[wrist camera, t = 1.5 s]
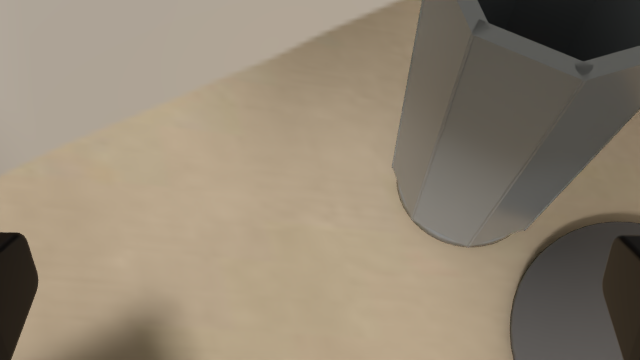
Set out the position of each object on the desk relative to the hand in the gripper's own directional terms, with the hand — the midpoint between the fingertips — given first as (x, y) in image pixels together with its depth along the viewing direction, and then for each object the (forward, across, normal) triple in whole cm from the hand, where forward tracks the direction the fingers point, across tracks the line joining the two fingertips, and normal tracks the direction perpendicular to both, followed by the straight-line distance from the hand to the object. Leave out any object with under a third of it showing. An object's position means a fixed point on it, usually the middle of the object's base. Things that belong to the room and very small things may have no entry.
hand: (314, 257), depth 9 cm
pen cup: (+14, -5, +7) cm, 17 cm away
